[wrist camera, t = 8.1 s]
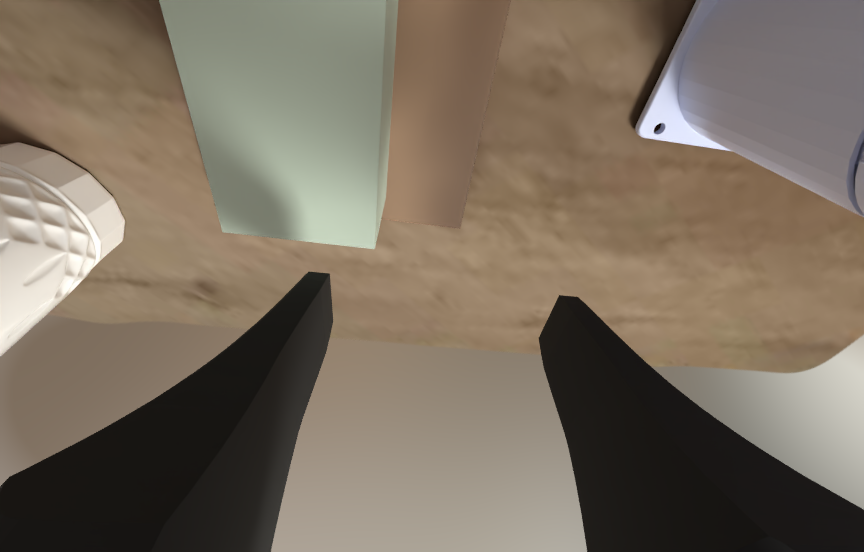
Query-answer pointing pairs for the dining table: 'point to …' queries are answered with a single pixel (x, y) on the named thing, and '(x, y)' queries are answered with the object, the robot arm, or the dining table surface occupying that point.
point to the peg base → (439, 105)
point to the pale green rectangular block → (290, 111)
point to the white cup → (47, 234)
